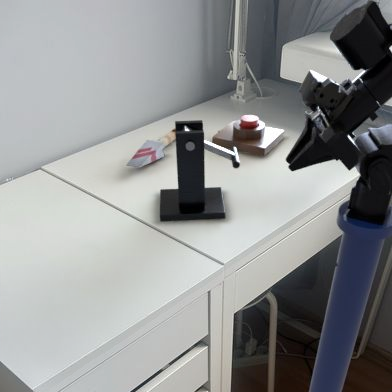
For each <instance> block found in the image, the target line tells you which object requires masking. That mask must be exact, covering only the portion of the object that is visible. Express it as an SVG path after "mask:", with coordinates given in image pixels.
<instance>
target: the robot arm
mask: <svg viewBox="0 0 392 392" xmlns="http://www.w3.org/2000/svg"><path fill="white" fill-rule="evenodd" d="M329 41H330V42H331V43H332V44H333V45H334V47H335V49H336V50H337V51H338V52H339V54H340V55H341V56H342V57H343V59H344V60H345V61H346V63H347V64H348V66H349V67H350V68H351V70H353V71H360V70H362V72H361V73H360V74H359V75H358V76H356V77H355V79H354V80H351V79H350V78H346V79H344V80H343V81H342V82H340V84H339V83H338V81H333V80H332V79H331V78H330V77H326V76H324V75H322V74H320V73H318V72H317V71H314V70H312V69H309V70H308V71H307V73H306V76H305V77H304V79H303V81H302V83H301V85H300V86H299V88H298V92H299V93H301V99H302V101H303V103H304V105H305V106H306V107H307V108H309V109H310V110H311V112H310V113H309V112H307V111H305V112H304V127H303V130H302V131H301V133H300V134H299V137H298V138H297V140H296V141H295V143H294V145H293V146H292V147H291V148H290V149H291V150H289V153H288V154H287V156H286V158H285V162H286V163H287V164H288V165H287V166H288V169H289V170H290V171H291V172H295V171H298V170H302V169H305V168H308V167H312V166H315V165H318V164H322V163H326V162H330V161H334V160H335V161H336V162H338V161H340V162H341V163H342V164H343V166H344V167H345V168H346V169H347V170H348V171H351V170H352V169H354V168H355V170H356V171H357V173H358V174H359V177H358V178H357V179H356V182H355V183H354V184H353V186H352V187H351V190H350V196H349V199H348V200H349V204H348V209H350V210H349V212H348V213H347V217H349V218H353V219H357V220H361V221H365V222H369V223H373V224H377V225H383V224H384V222H385V221H386V219H387V217H388V215H389V214H390V212H391V210H392V207H391V205H392V123H390V124H389V123H388V124H385V125H383V126H380V127H375V128H373V127H368V128H367V132H363V133H360V134H359V135H357V136H356V135H355V134H354V132H355V131H356V130H357V129H358V128H359V127H360V126H362V125H363V124H364V123H365V122H366V121H367V120H368V119H370V120H371V121H372V122H374V121H375V120H376V119H378V118H379V115H378V114H377V113H376V112H378V110H380V109H381V108H382V107H384V105H385V104H387V103H388V102H389V101H390V100H391V99H392V50H391V49H390V48H391V47H392V23H388V21H387V20H386V19H385V17H384V16H383V14H382V11H381V8H380V6H379V4H378V3H377V2H376V1H375V0H366V1H365V3H364V4H362V5H359V6H357V7H355V8H353V9H352V10H350V11H349V12H348V13H344V15H343V16H342V17H341V18H340V19H339V20H338V21H337V23H336V24H335V25H334V27H333V28H332V30H331V32H330V33H329Z"/></svg>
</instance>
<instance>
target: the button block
mask: <svg viewBox="0 0 392 392" xmlns="http://www.w3.org/2000/svg"><path fill="white" fill-rule="evenodd" d="M240 121H241V119H238V120H234V119H233V120H232V121H231V122H229V123H228V124H227V125H225V126H224V127H223V128H222V129H220V130H219V131H218V132H217V133H215V134H214V135H213V136H211V137H212V138H211V141H212V142H211V143H213V144H215V145H217V146H220V147H222V148H224V149H227V150H230V148H231V147H236V149H237V152H243V153H247V154H251V155H256V156H261V157H265V156H266V155H268V153H270V152H271V151H272V150H273V149H274V148H275V147H276V146H277V145H278V144H280V142H282V140H284V137H285V130H284V129H281V128H275V127H271V126H266V125H265V124H266V123H265V122H264V121H262V120H260V119H258V127H257V128H254V129H245V128H241V127H240Z"/></svg>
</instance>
